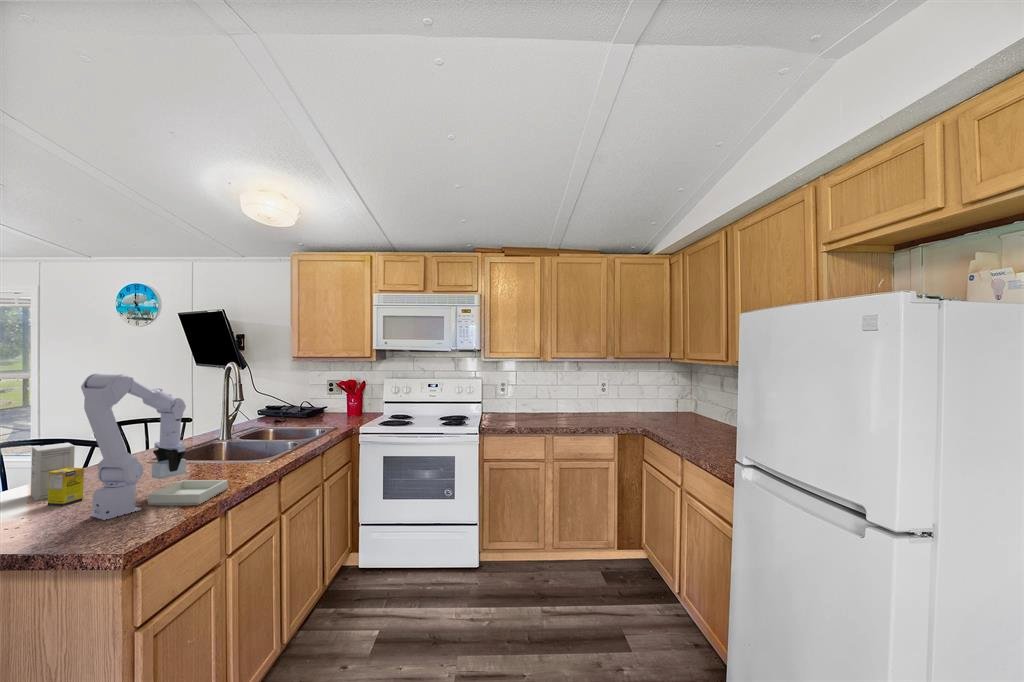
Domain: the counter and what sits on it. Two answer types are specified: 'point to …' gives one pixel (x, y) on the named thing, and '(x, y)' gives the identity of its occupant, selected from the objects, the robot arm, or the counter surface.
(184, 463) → the small crate
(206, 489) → the pale green tray
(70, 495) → the supplement box
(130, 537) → the counter surface
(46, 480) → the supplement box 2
